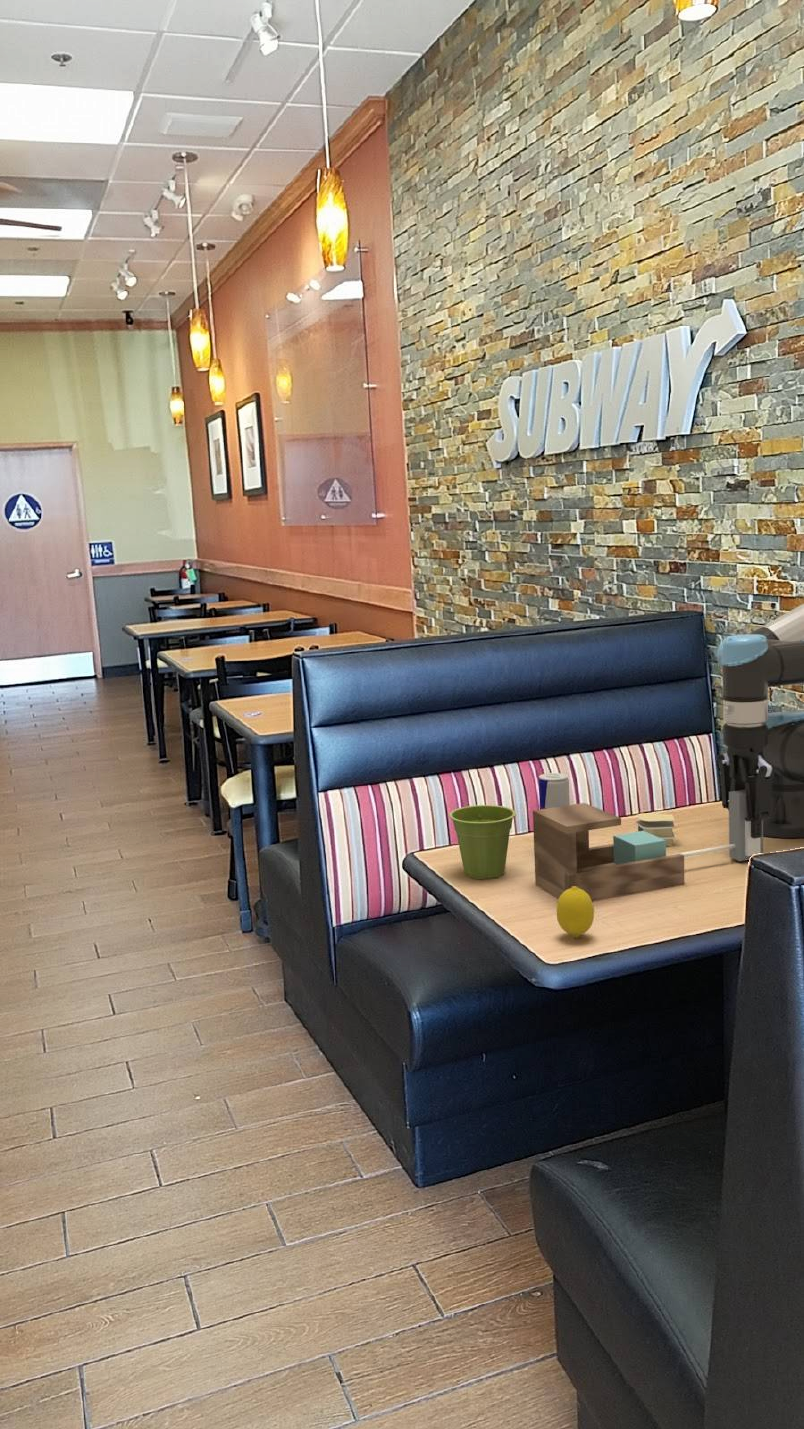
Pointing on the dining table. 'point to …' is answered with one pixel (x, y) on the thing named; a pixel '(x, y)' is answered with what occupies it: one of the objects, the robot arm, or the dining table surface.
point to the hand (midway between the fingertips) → (746, 851)
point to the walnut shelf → (592, 856)
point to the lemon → (575, 911)
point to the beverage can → (553, 790)
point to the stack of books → (657, 826)
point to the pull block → (652, 846)
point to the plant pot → (483, 838)
